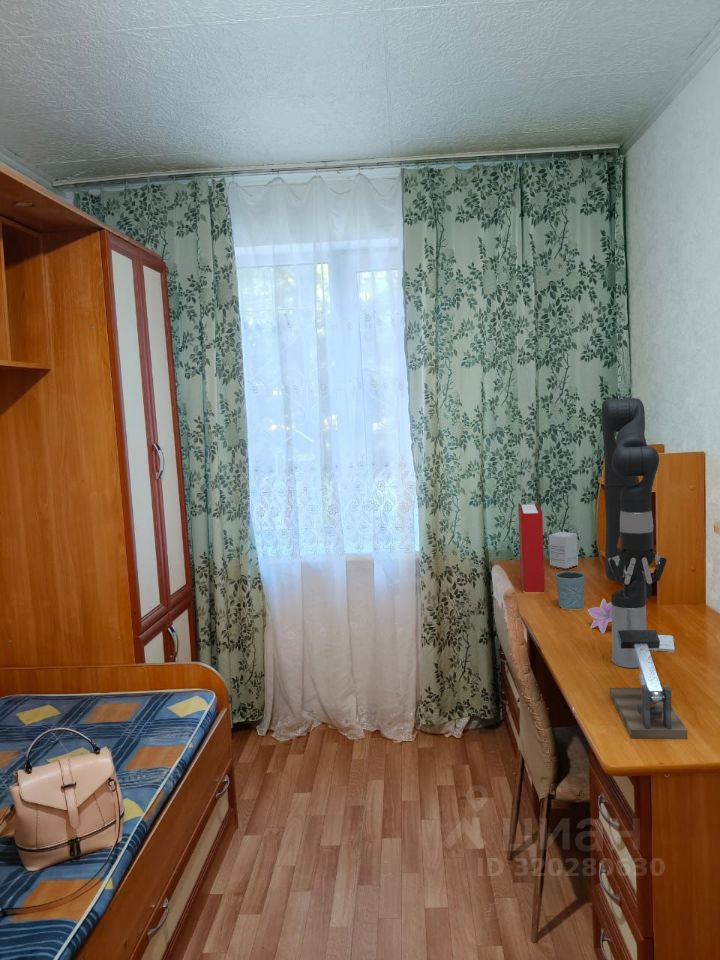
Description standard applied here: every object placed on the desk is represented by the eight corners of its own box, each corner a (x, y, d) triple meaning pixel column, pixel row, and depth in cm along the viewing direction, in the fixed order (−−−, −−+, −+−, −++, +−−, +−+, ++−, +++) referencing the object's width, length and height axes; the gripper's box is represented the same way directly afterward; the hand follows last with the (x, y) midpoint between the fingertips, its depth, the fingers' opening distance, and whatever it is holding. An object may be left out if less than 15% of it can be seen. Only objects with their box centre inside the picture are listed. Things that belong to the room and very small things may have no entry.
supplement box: (561, 563, 333) (560, 531, 332) (578, 566, 326) (577, 533, 325) (549, 567, 327) (548, 534, 326) (566, 570, 321) (565, 536, 319)
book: (520, 577, 314) (518, 502, 310) (539, 576, 312) (537, 502, 309) (523, 594, 287) (521, 513, 284) (545, 594, 286) (542, 512, 282)
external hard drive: (673, 640, 229) (674, 654, 217) (644, 638, 232) (644, 652, 220) (673, 635, 229) (674, 648, 217) (644, 633, 232) (644, 646, 220)
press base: (609, 695, 190) (608, 653, 189) (658, 695, 188) (657, 653, 187) (631, 738, 166) (630, 691, 165) (687, 738, 165) (686, 691, 164)
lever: (616, 641, 185) (618, 630, 183) (654, 641, 184) (655, 629, 182) (635, 708, 168) (637, 696, 166) (677, 708, 166) (679, 696, 164)
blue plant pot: (582, 602, 272) (581, 570, 271) (588, 610, 262) (587, 577, 261) (554, 603, 273) (553, 571, 272) (558, 611, 263) (558, 578, 262)
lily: (587, 625, 250) (578, 604, 246) (620, 611, 248) (611, 589, 244) (600, 646, 239) (590, 625, 235) (634, 632, 237) (625, 610, 233)
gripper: (662, 525, 182) (663, 593, 184) (603, 527, 184) (604, 594, 185) (671, 530, 174) (672, 601, 176) (609, 532, 176) (610, 603, 178)
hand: (637, 597), depth 181 cm, fingers open, 3 cm apart
